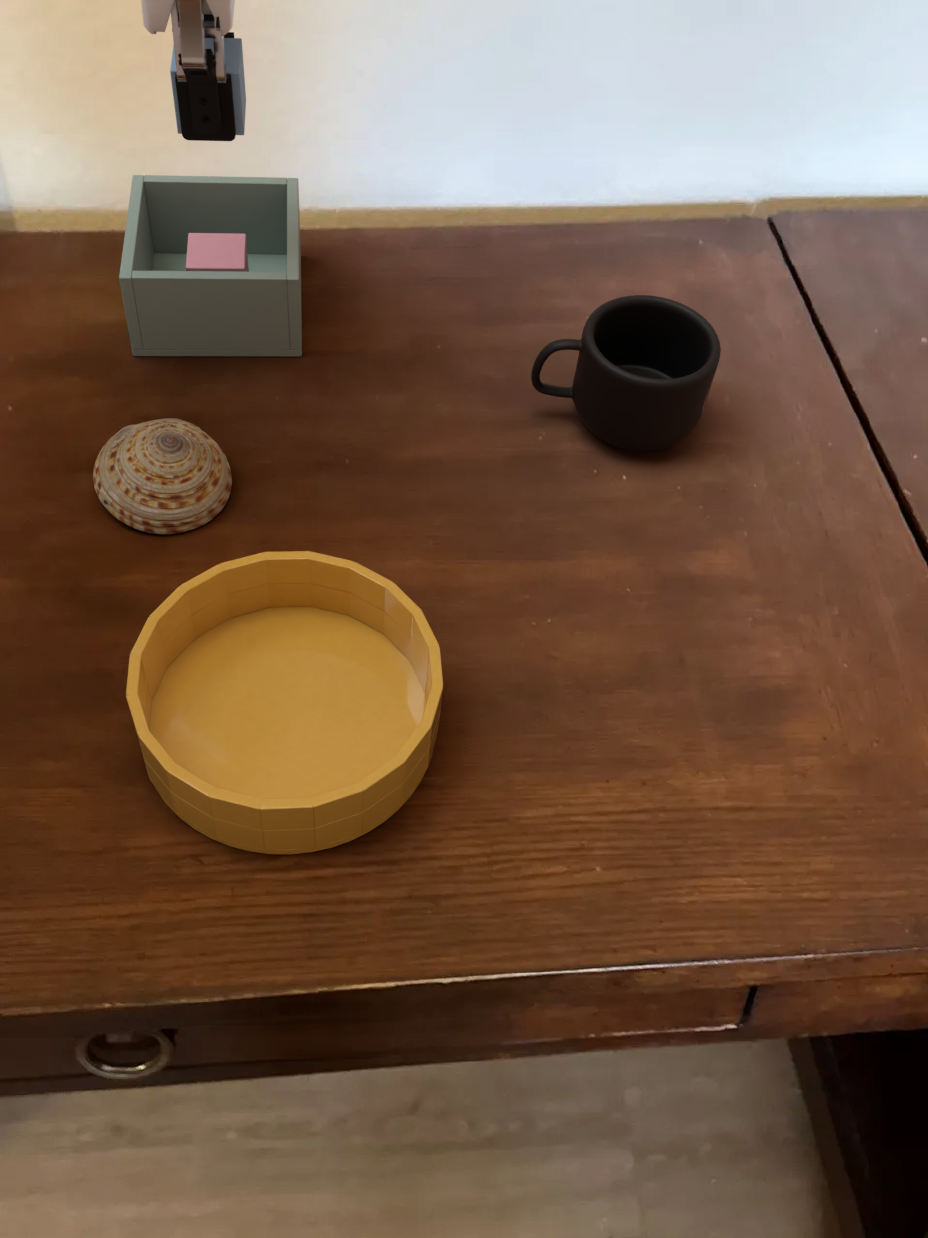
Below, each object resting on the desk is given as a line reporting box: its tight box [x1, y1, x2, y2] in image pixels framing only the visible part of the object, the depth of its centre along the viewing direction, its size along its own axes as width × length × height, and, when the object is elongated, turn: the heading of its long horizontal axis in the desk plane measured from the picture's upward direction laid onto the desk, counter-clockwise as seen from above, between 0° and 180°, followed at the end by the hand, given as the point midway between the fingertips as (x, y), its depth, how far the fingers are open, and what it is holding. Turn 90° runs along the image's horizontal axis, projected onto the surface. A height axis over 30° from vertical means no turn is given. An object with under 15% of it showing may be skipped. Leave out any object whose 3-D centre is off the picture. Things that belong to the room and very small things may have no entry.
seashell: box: [92, 417, 233, 535], centre depth 76 cm, size 8×6×8 cm
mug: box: [530, 294, 722, 452], centre depth 81 cm, size 12×9×7 cm
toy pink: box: [186, 233, 249, 272], centre depth 86 cm, size 4×4×4 cm
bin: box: [118, 174, 303, 357], centre depth 85 cm, size 12×12×7 cm
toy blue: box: [169, 37, 247, 136], centre depth 74 cm, size 4×4×4 cm
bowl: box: [125, 550, 444, 855], centre depth 65 cm, size 16×16×5 cm
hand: (211, 113), depth 75 cm, fingers closed on toy blue, 4 cm apart
